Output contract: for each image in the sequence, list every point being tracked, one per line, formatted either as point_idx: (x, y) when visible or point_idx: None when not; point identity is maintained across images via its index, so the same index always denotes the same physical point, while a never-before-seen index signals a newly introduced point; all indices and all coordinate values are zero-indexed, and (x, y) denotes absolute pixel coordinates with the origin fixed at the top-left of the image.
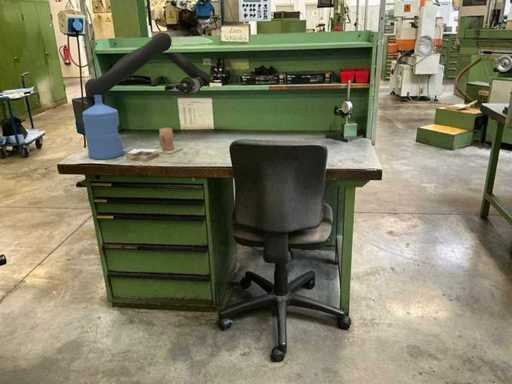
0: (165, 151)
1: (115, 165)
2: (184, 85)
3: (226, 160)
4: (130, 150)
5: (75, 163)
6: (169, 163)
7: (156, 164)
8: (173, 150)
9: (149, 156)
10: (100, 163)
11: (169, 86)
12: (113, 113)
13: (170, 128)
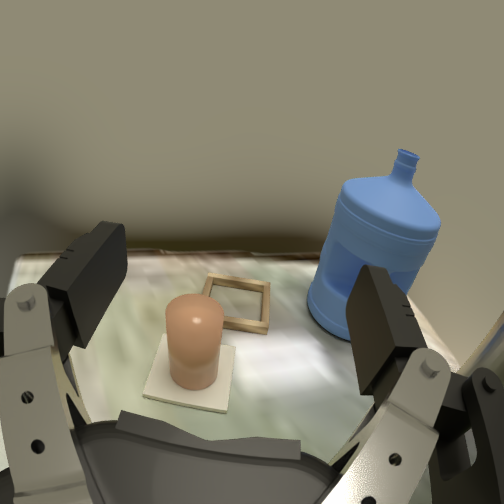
0: None
1: (262, 256)
2: (38, 350)
3: (9, 291)
4: (331, 362)
5: None
6: (140, 271)
7: (170, 264)
8: (165, 359)
9: (206, 284)
10: (305, 264)
11: (386, 339)
12: (342, 192)
13: (175, 321)
